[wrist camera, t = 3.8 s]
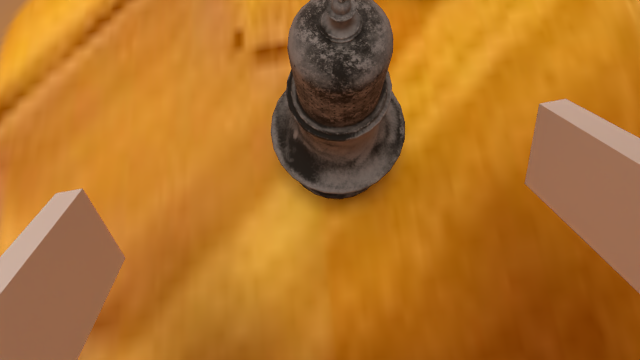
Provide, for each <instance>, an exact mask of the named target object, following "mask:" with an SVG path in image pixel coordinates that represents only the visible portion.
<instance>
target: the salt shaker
mask: <svg viewBox="0 0 640 360" xmlns="http://www.w3.org/2000/svg"><path fill="white" fill-rule="evenodd" d="M287 49H288V54H289V59H290V64H291V72H290V75H289V77H288V80H287V89H286V91H285V92H284V93H283V95H282V96H281V97H280V99H279V100H278V102H277V105H276V108H275V110H274V113H273V116H272V125H271V136H272V142H273V147H274V150H275V153H276V155H277V157H278V159H279V161H280V163H281V165H282V166H283V167H284V168H285V169H286V170H287V172H288V173H289V174H290V175H291V176H292V177H293V178H294V179H296V180H297V181H299V182H300V183H301V184H302V185H303V186H304V187H305V188H306V189H308V190H309V191H311V192H313V193H314V194H316V195H319V196H322V197H325V198H333V199H343V198H348V197H353V196H355V195H357V194H359V193H361V192H363V191H365V190H367V189H368V188H369V187H370V186H371V185H372V184H374V183H376V182H378V181H379V180H380V179H381V178H382V177H383V176H384V175H385V174H387V173H388V172H389V171H390V170H391V168H392V166H393V165H394V163H395V162H396V160H397V159H398V157H399V156H400V152H401V149H402V146H403V143H404V139H405V121H404V117H403V113H402V109H401V106H400V104H399V102H398V101H397V99H396V97H395V96H394V94H393V92H392V84H391V80H390V76H389V72H388V67H389V63H390V60H391V57H392V53H393V34H392V29H391V26H390V22H389V20H388V18H387V16H386V14H385V13H384V11H383V10H382V9H381V8H380V7H379V6H378V5H377V4H376V3H375V2H374V1H373V0H310V1H309V2H308V3H307V4H306V5H304V6H303V7H302V8H301V9H300V11H299V12H298V13H297V15H296V16H295V18H294V20H293V23H292V25H291V28H290V31H289V37H288V48H287Z"/></svg>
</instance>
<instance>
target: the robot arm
mask: <svg viewBox="0 0 640 360" xmlns="http://www.w3.org/2000/svg"><path fill="white" fill-rule="evenodd" d="M525 184H526V185H527V186H528V187H529V188H530V189H531V190H532V191H533V192H534V193H535V194H536V195H537V196H538V197H539V198H540V199H541V200H542V201H543V202H545V203H546V204H547V205H548V206H549V207H550V208H551V209H552V210H553V211H554V212H555V213H556V214H557V215H558V216H559V217H560V218H561V219H562V220H563V221H564V222H565V223H566V224H567V225H569V226H570V227H571V228H572V229H573V230H574V231H575V232H576V233H577V234H578V235H579V236H580V237H581V238H582V239H583V240H584V241H585V242H586V243H587V244H588V245H589V246H590V247H591V248H593V249H594V250H595V251H596V252H597V253H598V254H599V255H600V256H601V257H602V258H603V259H604V260H605V261H606V262H607V263H608V264H609V265H610V266H611V267H612V268H613V269H614V270H615V271H617V272H618V273H619V274H620V275H621V276H622V277H623V278H624V279H625V280H626V281H627V282H628V283H629V284H630V285H631V286H632V287H633V288H634V289H635V290H636V291H637V292H638V293H639V294H640V138H638V137H636V136H635V135H633V134H631V133H629V132H627V131H625V130H623V129H621V128H620V127H618V126H616V125H614V124H612V123H610V122H608V121H606V120H605V119H603V118H601V117H599V116H597V115H595V114H593V113H591V112H590V111H588V110H586V109H584V108H582V107H580V106H578V105H576V104H575V103H573V102H571V101H569V100H567V99H562V100H557V101H552V102H546V103H541V104H539V108H538V114H537V119H536V125H535V130H534V136H533V141H532V147H531V152H530V158H529V163H528V169H527V174H526V179H525ZM124 260H125V257H124V255H123V253H122V252H121V250H120V248H119V247H118V245H117V244H116V242H115V240H114V239H113V237H112V235H111V234H110V232H109V231H108V229H107V227H106V226H105V224H104V222H103V221H102V219H101V218H100V216H99V214H98V213H97V211H96V209H95V208H94V206H93V205H92V203H91V201H90V200H89V198H88V196H87V195H86V193H85V192H84V190H83V189H77V190H72V191H67V192H61V193H56V194H55V195H54V196H53V197H52V198H51V200H50V201H49V202H48V203H47V204H46V205H45V206H44V208H43V209H42V210H41V211H40V212H39V213H38V214H37V216H36V217H35V218H34V219H33V220H32V221H31V223H30V224H29V225H28V226H27V227H26V228H25V229H24V231H23V232H22V233H21V234H20V235H19V236H18V237H17V239H16V240H15V241H14V242H13V243H12V244H11V245H10V247H9V248H8V249H7V250H6V251H5V252H4V253H3V255H2V256H1V257H0V360H77V359H78V357H79V355H80V353H81V351H82V349H83V347H84V344H85V342H86V340H87V338H88V336H89V334H90V332H91V330H92V328H93V325H94V323H95V321H96V319H97V317H98V315H99V313H100V311H101V309H102V306H103V304H104V302H105V300H106V298H107V296H108V294H109V292H110V289H111V287H112V285H113V283H114V281H115V279H116V277H117V275H118V273H119V270H120V268H121V266H122V264H123V262H124Z"/></svg>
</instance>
